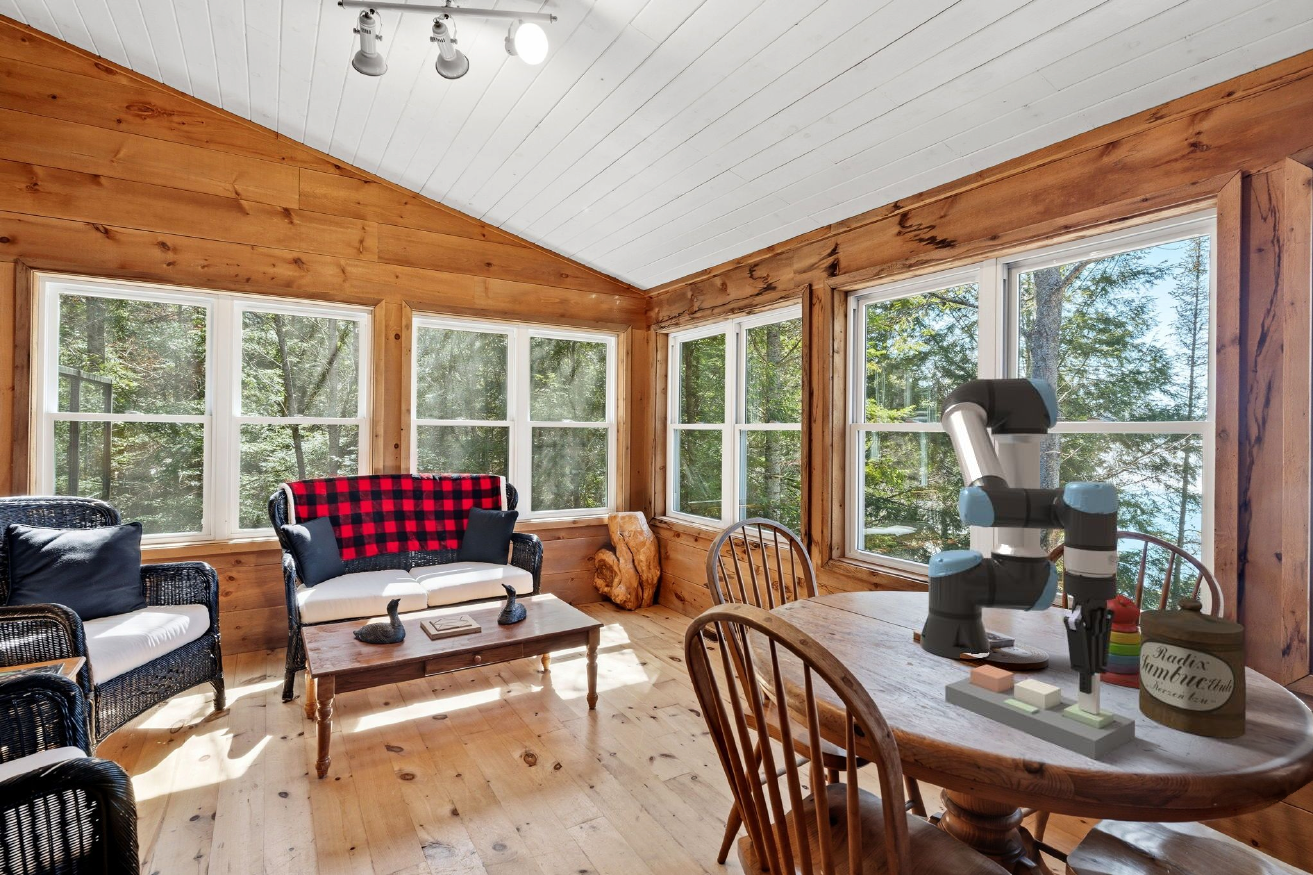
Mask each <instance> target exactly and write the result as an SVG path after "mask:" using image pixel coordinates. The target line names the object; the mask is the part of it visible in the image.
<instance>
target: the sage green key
mask: <svg viewBox="0 0 1313 875" xmlns="http://www.w3.org/2000/svg"><path fill="white" fill-rule="evenodd" d="M1101 709H1102V708H1100V713H1098V714H1093V713H1090V712H1087V711H1084V710H1081V709H1078V703H1077V704H1075V705H1072V706H1070V707H1068V708H1065V709H1064V717H1066V718H1069V719H1072V720H1074V721H1077V722H1080V723H1083V724H1086V725H1088V726H1091V727H1094V728H1097V729H1102V728H1104V727H1106V726H1108V725H1110V724H1112V723H1114V714H1113V713H1114V712H1112V713H1110V712H1111V711H1109V712H1107V711H1108V710H1106V711H1104V710H1105V709H1103V710H1101Z"/></svg>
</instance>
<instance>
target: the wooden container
mask: <svg viewBox="0 0 1313 875" xmlns="http://www.w3.org/2000/svg"><path fill="white" fill-rule="evenodd" d="M1177 605H1178V607H1180V608H1179V609H1177V610H1176V609H1147V610H1143V611H1140V616H1139V631H1140V634H1141V645H1140V668H1139V688H1138V689H1139V691H1138V692H1139V693H1138V698H1139V699H1138V702H1139V703H1138V706H1139V710H1140V712H1141V713H1142V714H1143V715H1144V716H1145V717H1146V718H1149V719H1150V720H1153V721H1155V722H1156V723H1158V724H1160V725H1163V726H1165V727H1167V728H1172V729H1174V730H1177V731H1180V732H1184V733H1187V734H1188V733H1189V734H1193V735H1199V736H1204V737H1211V738H1227V739H1228V738H1238V737H1240V736H1242V735H1245V732H1246V729H1247V728H1246V727H1247V726H1246V721H1247V719H1246V718H1247V716H1246V709H1247V688H1246V687H1247V684H1246V681H1247V680H1246V677H1247V676H1246V657H1245V656H1246V652H1245V651H1246V650H1245V640H1246V639H1245V635H1246V634H1245V627H1244V626H1243V625H1241V624H1240V623H1238V622H1236V621H1234V620H1229V619H1228V618H1224V617H1221V616H1216V615H1212V614H1206V613H1203V612H1202V611H1201V610H1202V609H1203V602H1201V601H1199V600H1198V599H1196V598H1193V597H1183V598H1181V599H1179V600H1178V601H1177Z"/></svg>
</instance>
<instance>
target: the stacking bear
mask: <svg viewBox="0 0 1313 875" xmlns="http://www.w3.org/2000/svg"><path fill="white" fill-rule="evenodd" d="M1107 608H1108V609H1111V610H1114V611H1115V615H1114V619H1113V622H1112V628H1111V637H1110V645H1109V653H1108V662H1107V666H1106V667H1103V666H1102V669H1105V670H1107V673H1106V674H1102V673H1099V674H1100V681H1102V682H1106V683H1108V684H1109V683H1110V684H1113V685H1117V686H1121V687H1127V688H1134V689H1139V668H1140V645H1141V631H1140V627H1138V626H1137V624H1136V623H1135V622H1136V621H1137V620H1138V618H1140V614H1141V610H1140V609H1139V607H1138V606H1136V604H1135V603H1134V602H1133V600H1132V599H1130V598H1129V597H1128V596H1126V595H1123V594H1118V593H1117V597H1116V598H1115V599H1112V600H1107Z"/></svg>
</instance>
